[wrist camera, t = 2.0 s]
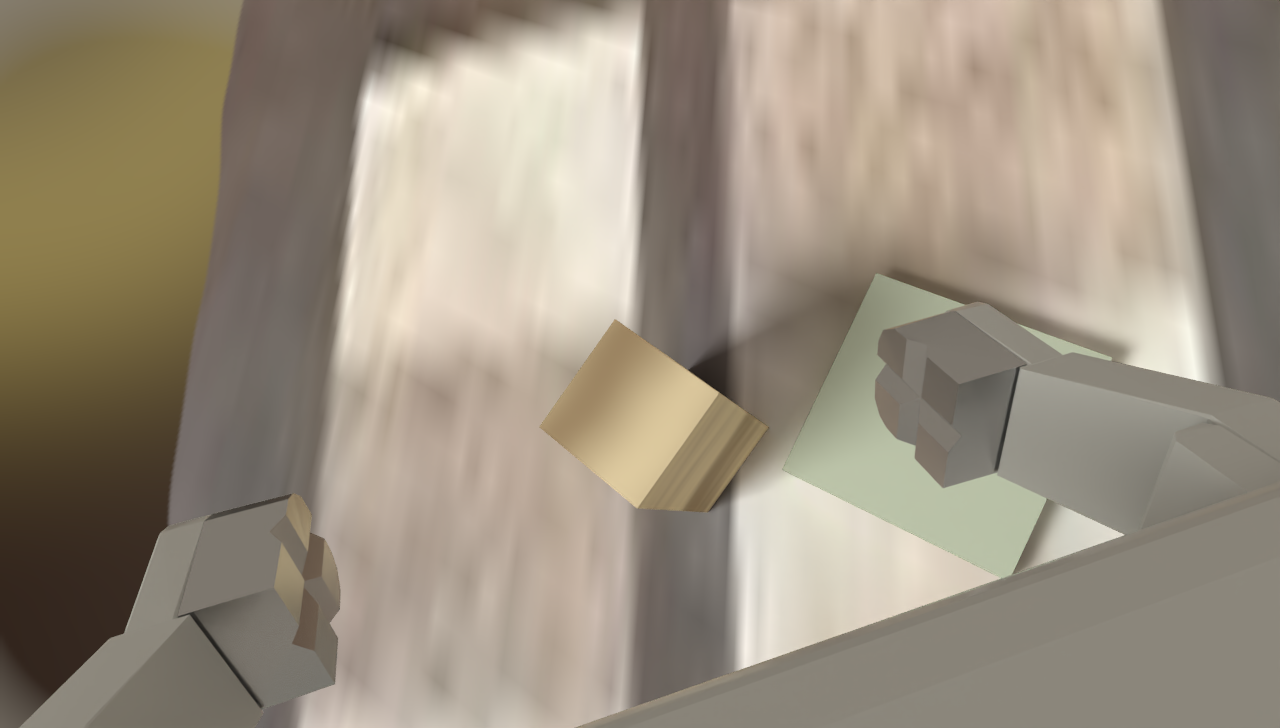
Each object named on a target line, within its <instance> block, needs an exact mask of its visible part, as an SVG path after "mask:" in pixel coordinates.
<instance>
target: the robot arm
mask: <svg viewBox="0 0 1280 728" xmlns="http://www.w3.org/2000/svg"><path fill="white" fill-rule="evenodd" d="M877 355H878V356H879V357H880V358H881V359H882V361H883V362H884V363H885V364H886V365H885V366H884V368H883V369H882V371H881V372H880V373H879V375H878V376H877V378H876V379H875V401H876V405H877V408H878V412H879V415H880V417H881V419H882V421H883V423H884V424H885V426H886V428H887V429H888V430H889V431H890V432H891V433H892V435H893V436H894V437H895V438H896V439H898V440H901V441H903V442H906V443H909V444H912V445H915V459H916V461H917V462H918V463H919V464H920V465H921V466H922V467H923V468H924V469H925V470H926V471H927V472H928V473H929V474H930V475H931V476H932V477H933V479H934V480H935V481H936V482H937V483H938V484H939V485H940V486H941V487H942V488H946V487H949V486H953V485H956V484H960V483H963V482H966V481H970V480H973V479H977V478H980V477H984V476H987V475H990V474H994V473H997V472H998V474H997V476H1000V477H1002V478H1004V479H1006V480H1008V481H1010V482H1012V483H1015V484H1017V485H1019V486H1021V487H1023V488H1025V489H1028V490H1030V491H1032V492H1034V493H1036V494H1038V495H1040V496H1043V497H1045V498H1047V499H1049V500H1051V501H1053V502H1056V503H1058V504H1060V505H1062V506H1064V507H1066V508H1068V509H1071V510H1073V511H1075V512H1077V513H1079V514H1081V515H1084V516H1086V517H1088V518H1090V519H1092V520H1094V521H1096V522H1099V523H1101V524H1103V525H1105V526H1107V527H1109V528H1112V529H1114V530H1116V531H1118V532H1120V533H1122V534H1124V536H1121V537H1118V538H1116V539H1113V540H1110V541H1107V542H1104V543H1101V544H1098V545H1096V546H1093V547H1090V548H1087V549H1084V550H1081V551H1078V552H1076V553H1073V554H1070V555H1067V556H1064V557H1061V558H1058V559H1055V560H1053V561H1050V562H1047V563H1044V564H1041V565H1038V566H1035V567H1033V568H1030V569H1027V570H1024V571H1021V572H1018V573H1015V574H1013V575H1010V576H1007V577H1004V578H1001V579H998V580H996V581H993V582H990V583H987V584H984V585H981V586H978V587H976V588H973V589H970V590H967V591H964V592H961V593H958V594H956V595H953V596H950V597H947V598H944V599H941V600H938V601H936V602H933V603H930V604H927V605H924V606H921V607H919V608H916V609H913V610H910V611H907V612H904V613H901V614H899V615H896V616H893V617H890V618H887V619H884V620H881V621H879V622H876V623H873V624H870V625H867V626H864V627H861V628H859V629H856V630H853V631H850V632H847V633H844V634H842V635H839V636H836V637H833V638H830V639H827V640H824V641H822V642H819V643H816V644H813V645H810V646H807V647H804V648H801V649H799V650H796V651H793V652H790V653H787V654H784V655H781V656H779V657H776V658H773V659H770V660H767V661H764V662H761V663H759V664H756V665H753V666H750V667H747V668H744V669H741V670H739V671H736V672H733V673H730V674H727V675H724V676H721V677H719V678H716V679H713V680H710V681H707V682H704V683H701V684H699V685H696V686H693V687H690V688H687V689H684V690H681V691H679V692H676V693H673V694H670V695H667V696H664V697H661V698H659V699H656V700H653V701H650V702H647V703H644V704H641V705H639V706H636V707H633V708H630V709H627V710H624V711H621V712H619V713H616V714H613V715H610V716H607V717H604V718H601V719H598V720H596V721H593V722H590V723H587V724H584V725H581V726H578V727H576V728H1280V402H1278V401H1276V400H1274V399H1273V398H1269V397H1265V396H1261V395H1256V394H1252V393H1248V392H1243V391H1239V390H1235V389H1230V388H1226V387H1222V386H1217V385H1213V384H1209V383H1204V382H1200V381H1196V380H1191V379H1187V378H1183V377H1178V376H1174V375H1170V374H1165V373H1161V372H1156V371H1152V370H1148V369H1143V368H1139V367H1135V366H1130V365H1126V364H1122V363H1117V362H1113V361H1109V360H1104V359H1100V358H1096V357H1091V356H1087V355H1083V354H1078V353H1074V352H1071V353H1068V354H1064V355H1062V354H1061V353H1059V352H1058V351H1056V350H1055V349H1054V348H1052V347H1051V346H1049V345H1048V344H1046V343H1045V342H1043V341H1042V340H1040V339H1039V338H1037V337H1036V336H1034V335H1033V334H1031V333H1030V332H1029V331H1027V330H1026V329H1024V328H1023V327H1021V326H1020V325H1018V324H1017V323H1015V322H1014V321H1012V320H1011V319H1009V318H1008V317H1007V316H1005V315H1004V314H1002V313H1001V312H999V311H998V310H996V309H995V308H993V307H992V306H990V305H989V304H987V303H982V302H974V303H971V304H967V305H964V306H961V307H958V308H954V309H951V310H948V311H946V312H945V313H942V314H938V315H934V316H931V317H927V318H924V319H920V320H917V321H913V322H910V323H906V324H903V325H899V326H895V327H892V328H888V329H885V330H883V332H882V334H881V336H880V338H879V341H878V352H877ZM311 517H312V514H311V513H310V511H309V509H308V508H307V506H306V504H305V503H304V501H303V499H302V498H301V496H299V495H296V494H294V493H292V494H288V495H284V496H280V497H276V498H272V499H268V500H265V501H261V502H257V503H253V504H249V505H245V506H241V507H237V508H233V509H229V510H225V511H222V512H218V513H214V514H211V515H210V516H203V517H200V518H196V519H192V520H188V521H185V522H181V523H177V524H174V525H170V526H168V527H167V528H166V529H164V530H163V531H162V532H161V533H160V535H159V537H158V540H157V542H156V545H155V548H154V551H153V554H152V556H151V560H150V562H149V565H148V568H147V571H146V573H145V576H144V579H143V582H142V585H141V588H140V590H139V593H138V596H137V599H136V602H135V605H134V607H133V610H132V613H131V616H130V619H129V621H128V624H127V627H126V630H125V633H124V634H122V635H119V636H116V637H112V638H110V639H109V640H108V641H107V642H106V643H105V644H104V645H103V646H102V647H101V648H100V649H99V650H98V651H97V652H96V653H95V654H94V655H93V656H92V657H90V658H89V659H88V661H86V662H85V663H84V665H82V666H81V667H80V669H78V670H77V671H76V672H75V673H74V674H73V675H72V676H71V677H70V678H69V679H68V680H67V681H66V682H65V683H64V684H63V685H62V686H61V687H60V688H59V689H58V690H57V691H56V692H55V693H54V694H53V695H52V696H51V697H50V698H49V699H48V700H47V701H46V702H45V703H44V704H43V705H42V706H41V707H40V708H39V709H38V710H37V711H36V712H35V713H34V714H33V715H32V716H31V717H30V718H29V719H28V720H27V721H26V722H25V723H24V724H23V725H22V726H21V727H20V728H255V726H256V725H257V723H258V722H259V720H260V718H261V717H262V715H263V711H262V709H265V708H268V707H271V706H274V705H277V704H279V703H282V702H285V701H288V700H291V699H294V698H297V697H299V696H302V695H305V694H308V693H311V692H314V691H317V690H319V689H322V688H325V687H328V686H331V685H334V684H335V675H336V661H337V646H338V637H337V636H336V634H335V632H334V630H333V629H332V627H331V625H330V622H331V620H332V619H333V618H334V616H335V615H336V614H337V612H338V611H339V610H340V584H339V577H338V571H337V567H336V564H335V561H334V558H333V555H332V552H331V550H330V548H329V546H328V544H327V543H326V541H325V539H324V538H321V537H319V536H317V535H315V534H312V533H310V526H311Z"/></svg>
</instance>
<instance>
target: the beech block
mask: <svg viewBox="0 0 1280 728" xmlns="http://www.w3.org/2000/svg"><path fill="white" fill-rule="evenodd" d="M540 428H541V429H542V430H544V431H545V432H546V433H547V434H548V435H550V436H551V437H552V438H553V439H554V440H556V441H557V442H558V443H559V444H560V445H562V446H563V447H564V448H565V449H566V450H568V451H569V452H570V453H571V454H572V455H574V456H575V457H576V458H577V459H578V460H580V461H581V462H582V463H583V464H584V465H586V466H587V467H588V468H589V469H590V470H592V471H593V472H594V473H595V474H596V475H598V476H599V477H600V478H601V479H602V480H604V481H605V482H606V483H607V484H608V485H610V486H611V487H612V488H613V489H614V490H616V491H617V492H618V493H619V494H620V495H622V496H623V497H624V498H625V499H626V500H628V501H629V502H630V503H631V504H633V505H634V506H635V507H636V508H640V509H657V510H675V511H693V512H709V510H710V509H711V507H712V506H713V505H714V503H715V502H716V501H717V499H718V498H719V496H720V495H721V494H722V492H723V491H724V489H725V488H726V487H727V485H728V484H729V482H730V481H731V480H732V478H733V477H734V475H735V474H736V473H737V471H738V470H739V468H740V467H741V466H742V464H743V463H744V461H745V460H746V459H747V457H748V456H749V454H750V453H751V452H752V450H753V449H754V447H755V446H756V445H757V443H758V442H759V440H760V439H761V438H762V436H763V435H764V433H765V432H766V431H767V429H768V428H769V427H768V426H766V425H765V424H763V423H762V422H761V421H759V420H758V419H756V418H755V417H754V416H752V415H751V414H749V413H748V412H747V411H745V410H744V409H742V408H741V407H739V406H738V405H737V404H735V403H734V402H732V401H731V400H730V399H728V398H727V397H725V396H724V395H723V394H721V393H720V392H718V391H717V390H715V389H714V388H713V387H711V386H710V385H708V384H707V383H706V382H704V381H703V380H701V379H700V378H699V377H697V376H696V375H694V374H693V373H691V372H690V371H689V370H687V369H686V368H684V367H683V366H681V365H680V364H679V363H677V362H676V361H674V360H673V359H671V358H670V357H669V356H667V355H666V354H664V353H663V352H661V351H660V350H659V349H657V348H656V347H654V346H653V345H651V344H650V343H648V342H647V341H646V340H644V339H643V338H641V337H640V336H638V335H637V334H636V333H634V332H633V331H631V330H630V329H628V328H627V327H625V326H624V325H623V324H621V323H620V322H618V321H617V320H614V321H613V323H612V324H611V326H610V327H609V329H608V330H607V331H606V333H605V334H604V336H603V337H602V339H601V340H600V341H599V343H598V344H597V346H596V347H595V348H594V350H593V351H592V353H591V354H590V356H589V357H588V358H587V360H586V361H585V363H584V364H583V366H582V367H581V368H580V370H579V371H578V373H577V374H576V375H575V377H574V378H573V380H572V381H571V383H570V384H569V385H568V387H567V388H566V390H565V391H564V393H563V394H562V395H561V397H560V398H559V400H558V401H557V403H556V404H555V405H554V407H553V408H552V410H551V411H550V412H549V414H548V415H547V417H546V418H545V420H544V421H543V422H542V424H541V425H540Z"/></svg>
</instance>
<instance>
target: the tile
mask: <svg viewBox="0 0 1280 728" xmlns="http://www.w3.org/2000/svg"><path fill="white" fill-rule="evenodd" d="M961 306H964V304H961V303H959V302H956V301H953V300H950V299H947V298H945V297H942V296H939V295H936V294H933V293H931V292H928V291H925V290H922V289H919V288H917V287H914V286H911V285H908V284H906V283H903V282H900V281H897V280H894V279H892V278H889V277H886V276H883V275H880V274H878V273H876V275H875V277H874V279H873V281H872V283H871V285H870V287H869V289H868V291H867V294H866V296H865V298H864V300H863V302H862V304H861V306H860V308H859V310H858V312H857V314H856V317H855V319H854V321H853V323H852V325H851V327H850V329H849V331H848V333H847V335H846V337H845V340H844V342H843V344H842V346H841V348H840V350H839V352H838V354H837V356H836V358H835V360H834V363H833V365H832V367H831V369H830V371H829V373H828V375H827V377H826V379H825V381H824V383H823V386H822V388H821V390H820V392H819V394H818V396H817V398H816V400H815V402H814V404H813V406H812V409H811V411H810V413H809V415H808V417H807V419H806V421H805V423H804V425H803V427H802V429H801V432H800V434H799V436H798V438H797V440H796V442H795V444H794V446H793V448H792V450H791V452H790V455H789V457H788V459H787V461H786V463H785V465H784V467H783V469H782V470H783V471H785V472H788V473H790V474H792V475H794V476H796V477H798V478H800V479H802V480H804V481H806V482H808V483H810V484H812V485H814V486H816V487H818V488H820V489H822V490H824V491H826V492H828V493H830V494H832V495H834V496H836V497H838V498H840V499H842V500H844V501H846V502H848V503H850V504H852V505H854V506H857V507H859V508H861V509H863V510H865V511H867V512H869V513H871V514H873V515H875V516H877V517H879V518H881V519H883V520H885V521H887V522H889V523H891V524H893V525H895V526H897V527H899V528H901V529H903V530H905V531H907V532H909V533H911V534H913V535H915V536H917V537H919V538H921V539H923V540H925V541H928V542H930V543H932V544H934V545H936V546H938V547H940V548H942V549H944V550H946V551H948V552H950V553H952V554H954V555H956V556H958V557H960V558H962V559H964V560H966V561H968V562H970V563H972V564H974V565H976V566H978V567H980V568H982V569H984V570H986V571H988V572H990V573H992V574H994V575H997V576H999V577H1001V578H1004V577H1007V576H1010V575H1012V574H1013V571H1014V569H1015V567H1016V565H1017V563H1018V561H1019V558H1020V556H1021V554H1022V552H1023V550H1024V548H1025V546H1026V543H1027V541H1028V539H1029V537H1030V535H1031V533H1032V530H1033V528H1034V526H1035V524H1036V522H1037V520H1038V517H1039V515H1040V513H1041V511H1042V509H1043V507H1044V505H1045V502H1046V500H1047V498H1045V497H1043V496H1040V495H1038V494H1036V493H1034V492H1032V491H1030V490H1028V489H1025V488H1023V487H1021V486H1019V485H1017V484H1015V483H1012V482H1010V481H1008V480H1006V479H1004V478H1002V477H1000V476H997V474H998V472H997V473H994V474H990V475H987V476H984V477H980V478H977V479H973V480H970V481H966V482H963V483H960V484H956V485H953V486H949V487H946V488H942V487H941V486H940V485H939V484H938V483H937V482H936V481H935V480H934V479H933V477H932V476H931V475H930V474H929V473H928V472H927V471H926V470H925V469H924V468H923V467H922V466H921V465H920V464H919V463H918V462H917V461H916V459H915V445H912V444H909V443H906V442H903V441H901V440H898V439H896V438H895V437H894V436H893V435H892V433H891V432H890V431H889V430H888V429H887V428H886V426H885V424H884V423H883V421H882V419H881V417H880V415H879V412H878V408H877V405H876V401H875V379H876V378H877V376H878V375H879V373H880V372H881V371H882V369H883V368H884V366H885V365H886V364H885V363H884V362H883V361H882V359H881V358H880V357H879V356H878V355H877V352H878V341H879V338H880V336H881V334H882V332H883V330H885V329H888V328H892V327H895V326H899V325H903V324H906V323H910V322H913V321H917V320H920V319H924V318H927V317H931V316H934V315H938V314H942V313H945V312H946V311H948V310H951V309H954V308H958V307H961ZM1018 325H1020V324H1018ZM1020 326H1021V327H1023V328H1024V329H1026V330H1027V331H1029V332H1030V333H1031V334H1033V335H1034V336H1036V337H1037V338H1039V339H1040V340H1042V341H1043V342H1045V343H1046V344H1048V345H1049V346H1051V347H1052V348H1054V349H1055V350H1056V351H1058V352H1059V353H1061V354H1062V355H1064V354H1068V353H1071V352H1074V353H1078V354H1083V355H1087V356H1091V357H1096V358H1100V359H1104V360H1109V361H1111V360H1112V357H1109V356H1106V355H1104V354H1101V353H1098V352H1095V351H1092V350H1090V349H1087V348H1084V347H1081V346H1079V345H1076V344H1073V343H1070V342H1067V341H1065V340H1062V339H1059V338H1056V337H1053V336H1051V335H1048V334H1045V333H1042V332H1039V331H1037V330H1034V329H1031V328H1028V327H1025V326H1023V325H1020Z"/></svg>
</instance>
